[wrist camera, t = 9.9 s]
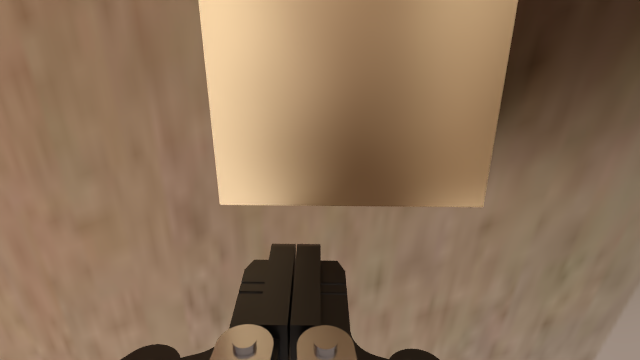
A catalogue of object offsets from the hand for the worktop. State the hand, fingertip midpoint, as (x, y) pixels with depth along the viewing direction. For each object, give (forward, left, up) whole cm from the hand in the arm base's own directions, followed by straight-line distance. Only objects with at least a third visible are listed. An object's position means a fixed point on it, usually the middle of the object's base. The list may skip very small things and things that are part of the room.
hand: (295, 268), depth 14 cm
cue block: (+2, +5, -5) cm, 7 cm away
